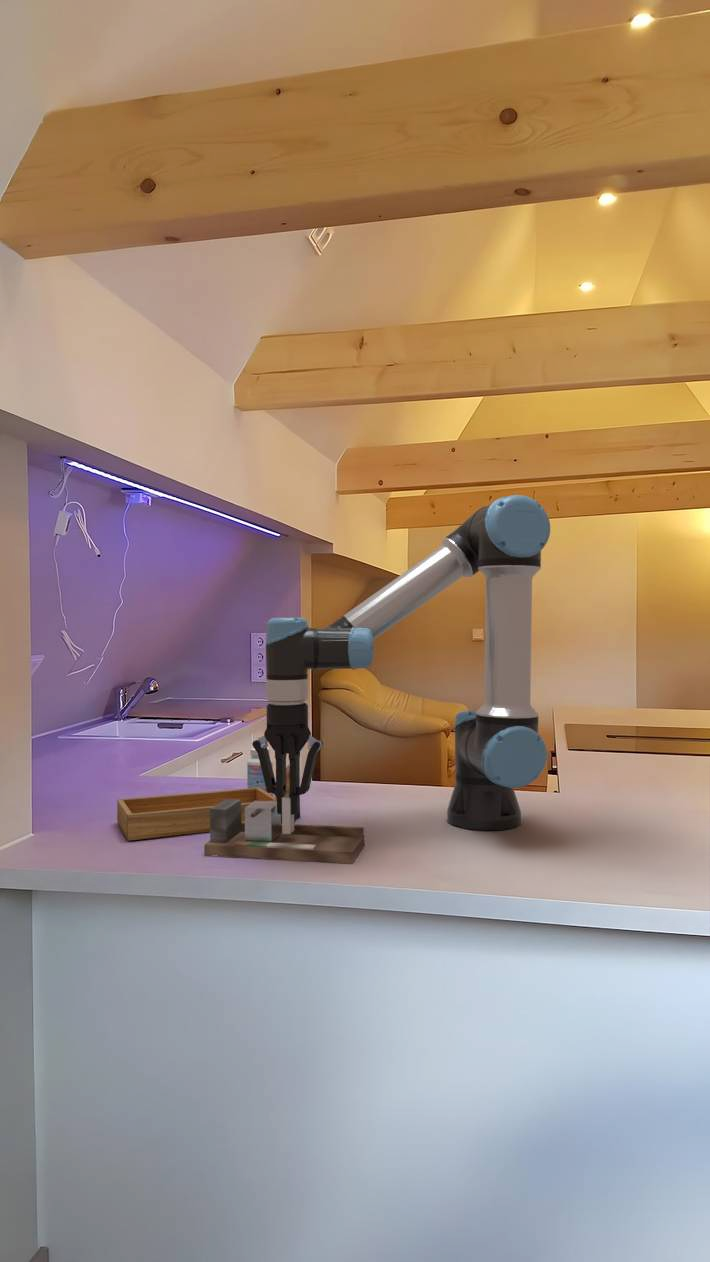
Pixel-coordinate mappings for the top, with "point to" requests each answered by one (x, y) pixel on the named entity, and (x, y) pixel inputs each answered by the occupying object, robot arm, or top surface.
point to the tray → (178, 812)
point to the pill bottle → (255, 771)
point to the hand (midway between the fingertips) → (288, 831)
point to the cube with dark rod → (262, 821)
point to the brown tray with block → (281, 839)
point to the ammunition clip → (289, 792)
